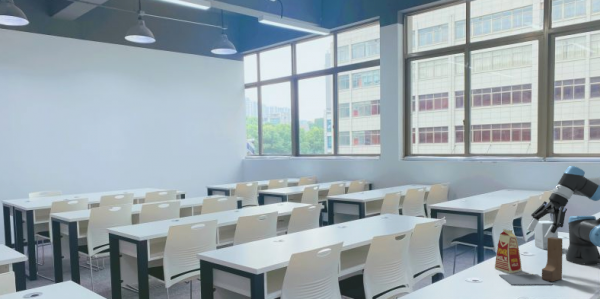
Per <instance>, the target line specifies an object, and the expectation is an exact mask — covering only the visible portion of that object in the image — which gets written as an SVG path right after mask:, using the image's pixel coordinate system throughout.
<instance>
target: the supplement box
mask: <svg viewBox="0 0 600 299" xmlns="http://www.w3.org/2000/svg"><path fill="white" fill-rule="evenodd" d="M551 225H553V220H552V221H551V220H539V222H538V223H537V225H536V227H535V228H534V230H533V231H534V246H535V247H536V248H539V249H542V250H547V243H548V238H546V237H544V236H545V235H546V233H547V231H548V230H549V228H550V226H551ZM558 229H559V228H557V230H556V232H555V233H554V234H553V236H552V237H556V238H559V233H558Z"/></svg>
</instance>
